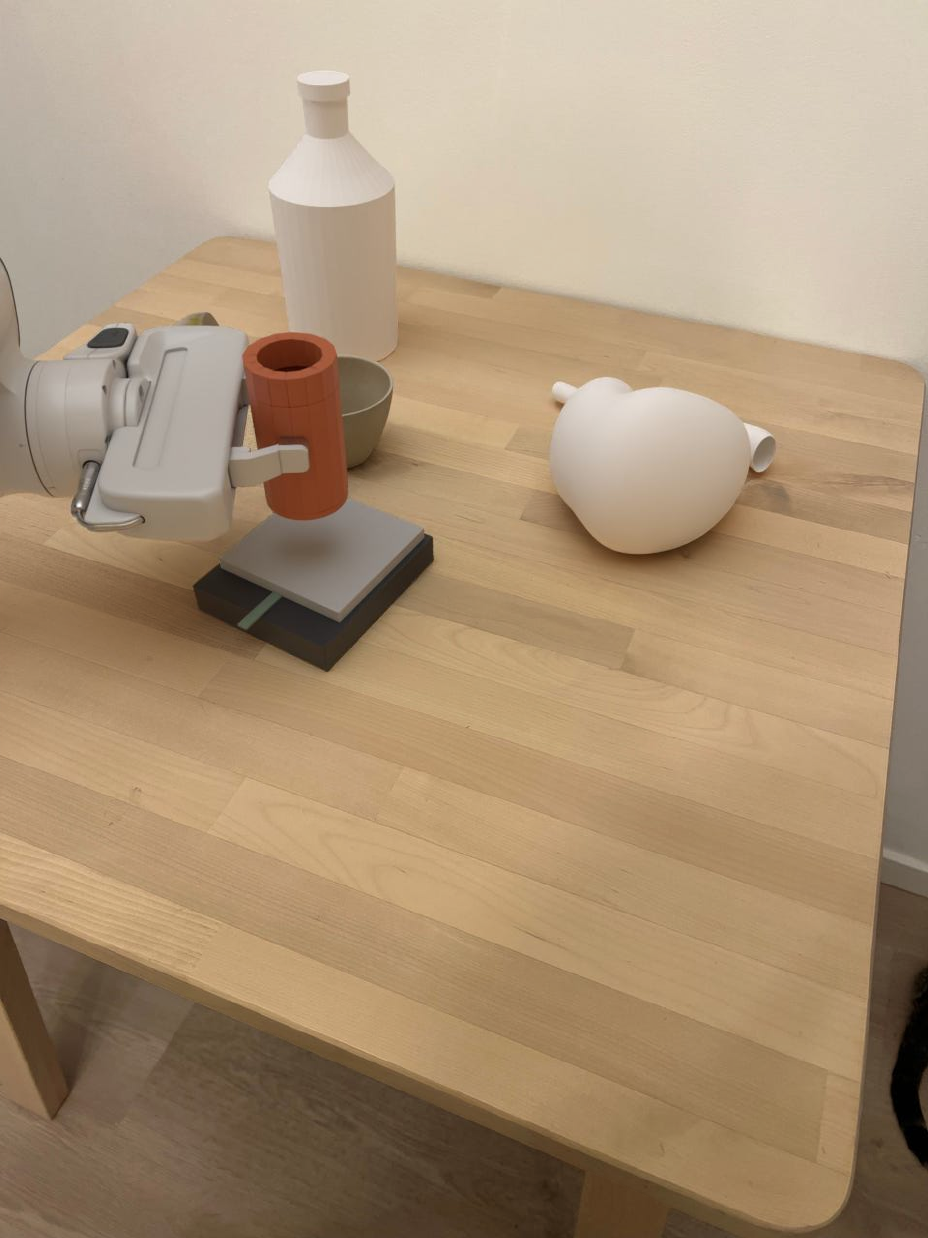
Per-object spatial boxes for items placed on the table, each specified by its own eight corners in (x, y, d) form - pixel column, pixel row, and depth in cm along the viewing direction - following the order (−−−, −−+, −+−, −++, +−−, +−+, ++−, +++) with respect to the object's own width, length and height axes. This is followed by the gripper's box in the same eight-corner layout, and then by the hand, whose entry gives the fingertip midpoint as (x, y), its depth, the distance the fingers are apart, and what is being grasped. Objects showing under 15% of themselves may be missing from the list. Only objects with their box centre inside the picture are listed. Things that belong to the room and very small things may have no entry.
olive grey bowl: (335, 411, 89) (328, 342, 84) (418, 446, 85) (416, 376, 80) (262, 460, 84) (250, 389, 79) (347, 500, 80) (340, 429, 74)
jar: (248, 503, 65) (222, 361, 58) (300, 462, 69) (282, 323, 61) (315, 531, 63) (297, 388, 56) (364, 487, 67) (354, 347, 59)
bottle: (280, 322, 102) (245, 63, 84) (385, 308, 104) (373, 54, 87) (299, 376, 94) (265, 103, 76) (413, 359, 96) (406, 92, 79)
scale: (184, 621, 69) (174, 586, 66) (313, 511, 78) (308, 477, 76) (314, 685, 65) (309, 651, 62) (433, 560, 74) (433, 526, 72)
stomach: (786, 532, 84) (578, 447, 97) (835, 387, 78) (606, 317, 91) (645, 592, 68) (421, 481, 82) (693, 417, 62) (441, 328, 76)
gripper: (46, 486, 52) (299, 477, 52) (114, 310, 66) (311, 306, 67) (78, 570, 56) (310, 561, 57) (135, 389, 70) (319, 383, 71)
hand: (311, 422), depth 62 cm, fingers closed on jar, 6 cm apart
